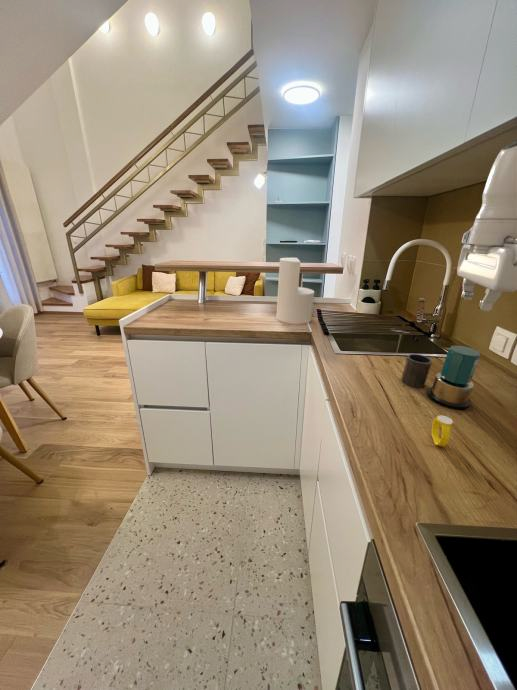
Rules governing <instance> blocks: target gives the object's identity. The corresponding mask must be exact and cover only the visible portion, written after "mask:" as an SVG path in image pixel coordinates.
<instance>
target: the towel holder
mask: <svg viewBox="0 0 517 690" xmlns="http://www.w3.org/2000/svg"><path fill="white" fill-rule="evenodd" d="M474 386H475V384H474V382H473V381H472V380H471V382H470V383H468V384H465V385H464V384H456V383H453V382H450V381H448V380H446V379H444V378H443V377H442V376H441V372H438V373H436V374H435V377H434V381H433V383H432V386H430V387H428V388H427V391H426V395H427V398H428V399H430V400H431V401H432V402H433V403H435V404H437V405H439V406H441V407H444V408H446V409H449V410H455V411H466V410H468V409H469V408H470V407H471V405H472V401H471V399H470V397H471V394H472V391H473V389H474Z"/></svg>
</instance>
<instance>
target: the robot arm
mask: <svg viewBox="0 0 517 690" xmlns="http://www.w3.org/2000/svg"><path fill="white" fill-rule="evenodd" d="M483 188H484V189H483V192H482V195H481V197H482V198H481V199H482V200H481V202H482V203H481V207H480V209H479V211H478V213H477V214H476V216H475V218H474V222H473V225H472V226H471V228H470V229H468V230H467V231H466V232H464V233H463V235H462V239H461V243H462V244H463V245H462V246H461V247H462V248H461V250H460V254H459V258H458V262H457V267H456V275H457V276H458V277H461V278H462V279H463V280H462V292H461V295H460V296H461V297H460V298H461V299H462V300H465V301H471V300H472V299H474V298H473V297H474V295H475V292H474V289H475V285H479V286H482V287H484V288H486V289H485V292H484V293H485V296H484V297H483V298H482V299H481V300H479V303H478V307H477V308H478V309H479V310H480V311H482V312H490V311H492V310H493V306H494V304H495V303H496V301H497V300H498V299H500V297H501V296H502V293H515V292H516V291H517V141H514V142H511V143H508V144H507V145H506V146H504V147H503V148H501V150H500V151H499V153H498V154H497V156H496V158H495V160H494V162H493V164H492V165H491V167H490V171H489V173H488V176H487V179H486V182H485V185H484V187H483Z"/></svg>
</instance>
